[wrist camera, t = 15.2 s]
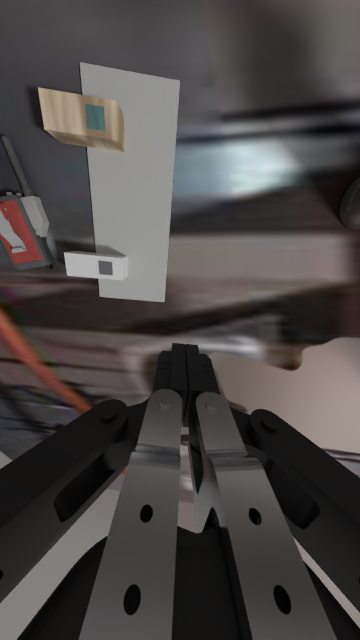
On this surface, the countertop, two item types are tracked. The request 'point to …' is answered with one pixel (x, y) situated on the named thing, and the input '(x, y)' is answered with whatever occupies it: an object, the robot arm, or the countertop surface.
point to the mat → (134, 179)
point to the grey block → (96, 265)
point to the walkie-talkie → (24, 223)
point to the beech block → (83, 120)
